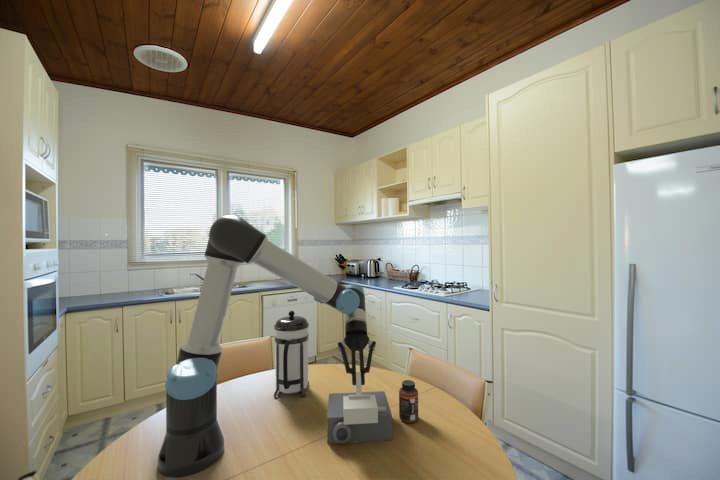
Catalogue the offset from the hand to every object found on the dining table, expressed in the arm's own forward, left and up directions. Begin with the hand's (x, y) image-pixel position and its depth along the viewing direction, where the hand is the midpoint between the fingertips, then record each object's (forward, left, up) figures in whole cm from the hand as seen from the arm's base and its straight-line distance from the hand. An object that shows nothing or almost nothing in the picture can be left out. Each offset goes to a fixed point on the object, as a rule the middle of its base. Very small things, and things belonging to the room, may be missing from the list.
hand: (359, 396), depth 92 cm
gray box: (0, 0, -10) cm, 10 cm away
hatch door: (0, -6, -2) cm, 7 cm away
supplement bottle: (+16, +5, -10) cm, 19 cm away
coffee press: (-23, +26, -10) cm, 36 cm away
